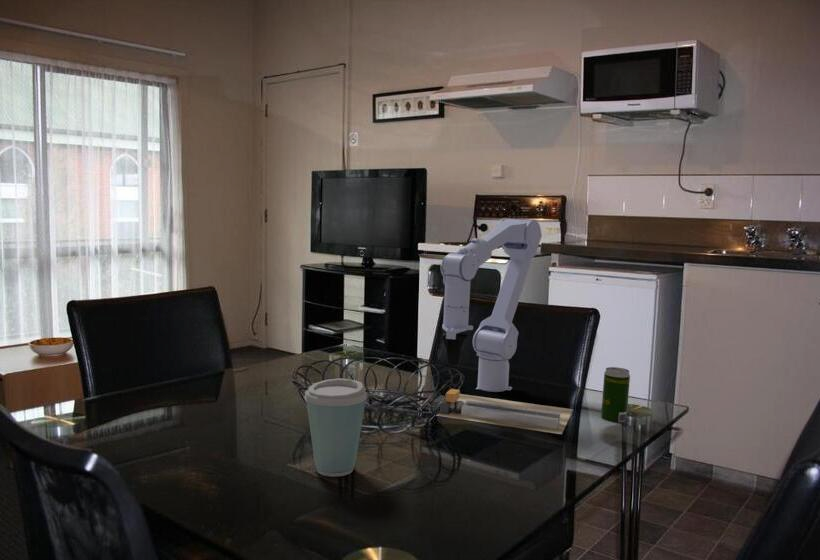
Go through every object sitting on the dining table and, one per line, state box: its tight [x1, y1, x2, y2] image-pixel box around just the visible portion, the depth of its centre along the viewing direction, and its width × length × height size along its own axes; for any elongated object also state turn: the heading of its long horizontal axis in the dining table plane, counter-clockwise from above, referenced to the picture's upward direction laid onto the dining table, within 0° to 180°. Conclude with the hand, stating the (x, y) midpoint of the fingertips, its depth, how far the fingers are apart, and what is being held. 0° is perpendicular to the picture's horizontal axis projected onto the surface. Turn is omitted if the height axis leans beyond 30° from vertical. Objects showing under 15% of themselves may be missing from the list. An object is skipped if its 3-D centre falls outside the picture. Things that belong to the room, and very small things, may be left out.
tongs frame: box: [432, 394, 559, 430], centre depth 152 cm, size 6×27×2 cm, turn 70°
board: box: [436, 393, 574, 435], centre depth 157 cm, size 19×28×1 cm
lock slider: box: [445, 388, 461, 402], centre depth 155 cm, size 4×2×2 cm, turn 160°
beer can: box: [600, 366, 631, 423], centre depth 155 cm, size 5×5×12 cm
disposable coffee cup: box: [304, 378, 368, 478], centre depth 121 cm, size 11×11×15 cm
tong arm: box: [454, 400, 561, 424], centre depth 152 cm, size 3×22×2 cm, turn 72°
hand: (453, 364), depth 164 cm, fingers closed
